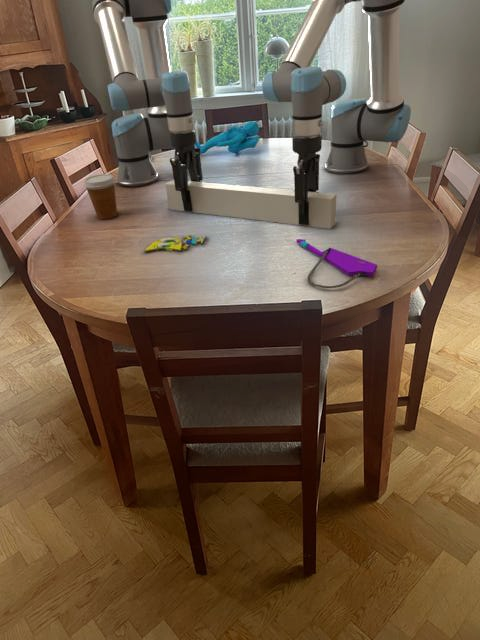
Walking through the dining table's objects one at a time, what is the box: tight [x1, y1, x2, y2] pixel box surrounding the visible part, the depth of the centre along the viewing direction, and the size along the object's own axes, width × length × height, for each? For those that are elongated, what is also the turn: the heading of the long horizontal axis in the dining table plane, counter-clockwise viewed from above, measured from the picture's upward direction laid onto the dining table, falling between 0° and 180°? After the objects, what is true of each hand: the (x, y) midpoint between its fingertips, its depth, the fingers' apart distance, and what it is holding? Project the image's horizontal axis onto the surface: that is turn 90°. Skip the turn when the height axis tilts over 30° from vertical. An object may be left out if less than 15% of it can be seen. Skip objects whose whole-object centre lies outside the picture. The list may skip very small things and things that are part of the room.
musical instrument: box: [295, 238, 378, 289], centre depth 112 cm, size 24×2×20 cm
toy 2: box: [194, 120, 261, 155], centre depth 207 cm, size 17×11×30 cm
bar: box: [164, 179, 337, 230], centre depth 142 cm, size 54×4×8 cm, turn 62°
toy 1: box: [144, 234, 207, 254], centre depth 130 cm, size 10×1×15 cm
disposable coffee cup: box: [83, 173, 118, 220], centre depth 151 cm, size 10×10×12 cm
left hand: (192, 207), depth 153 cm, fingers closed on bar, 4 cm apart
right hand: (307, 220), depth 136 cm, fingers closed on bar, 4 cm apart
